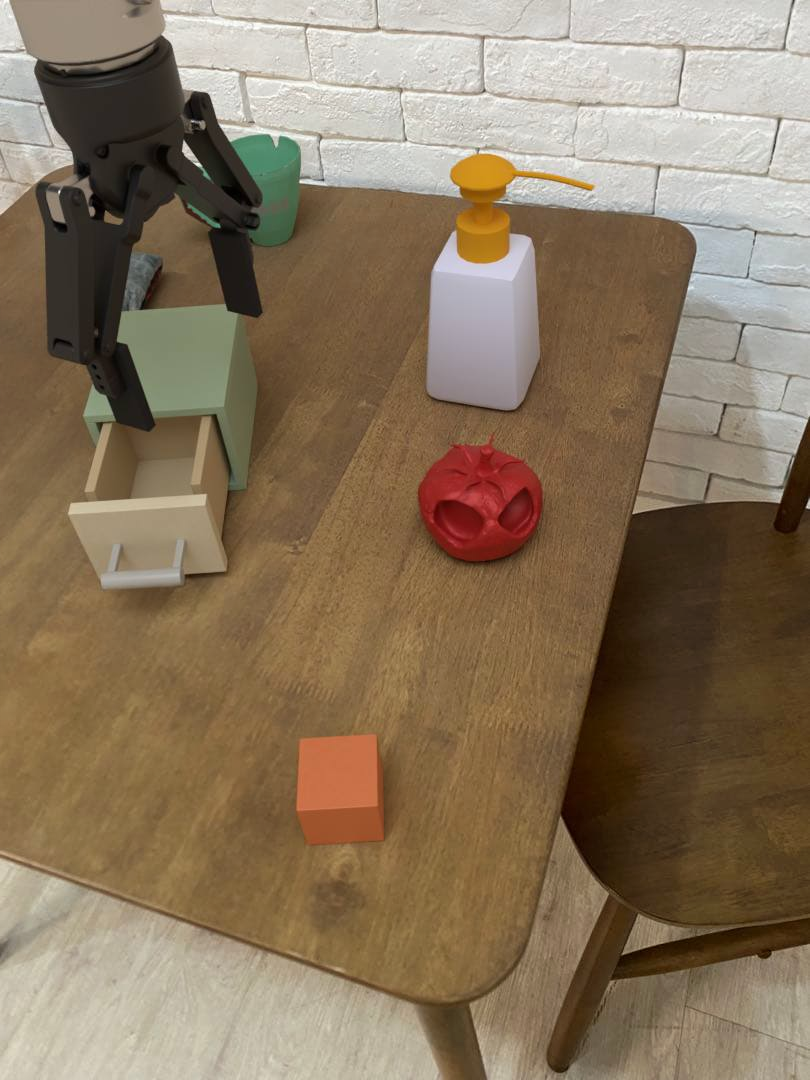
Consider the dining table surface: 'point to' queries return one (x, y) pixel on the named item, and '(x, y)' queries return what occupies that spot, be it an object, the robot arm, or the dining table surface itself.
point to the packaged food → (141, 280)
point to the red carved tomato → (480, 502)
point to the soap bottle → (485, 295)
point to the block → (340, 789)
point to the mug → (267, 186)
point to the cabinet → (191, 374)
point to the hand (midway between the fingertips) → (194, 365)
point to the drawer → (155, 503)
